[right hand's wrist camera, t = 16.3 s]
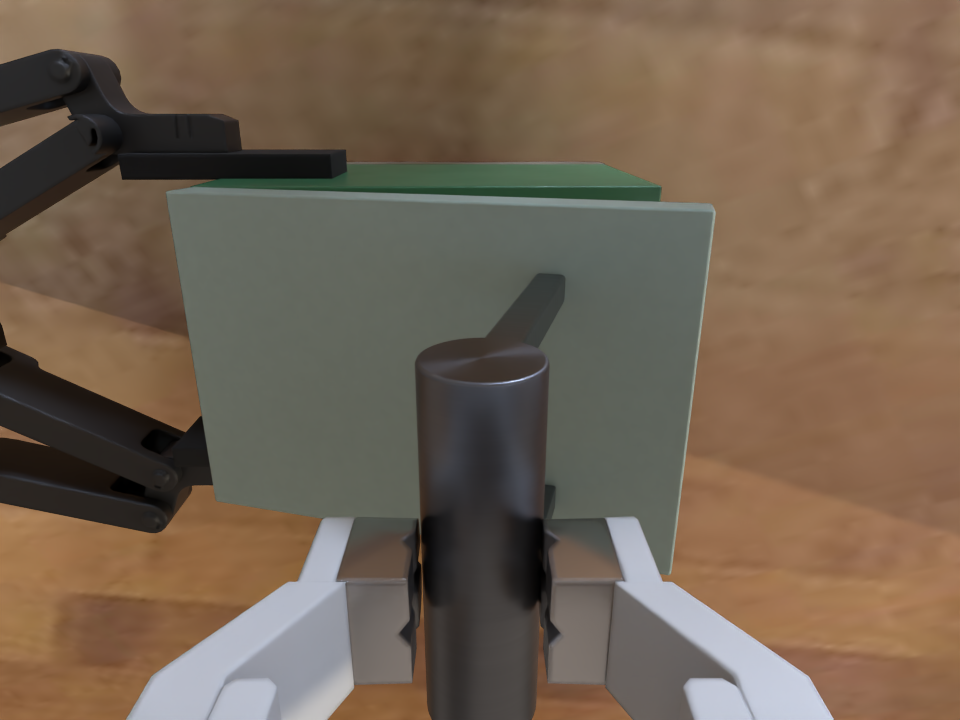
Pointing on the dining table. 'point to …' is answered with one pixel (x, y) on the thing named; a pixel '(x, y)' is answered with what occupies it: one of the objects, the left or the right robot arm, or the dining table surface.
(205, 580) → the dining table surface
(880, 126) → the dining table surface
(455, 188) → the chest
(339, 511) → the lid
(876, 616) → the dining table surface
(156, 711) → the right robot arm
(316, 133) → the dining table surface
